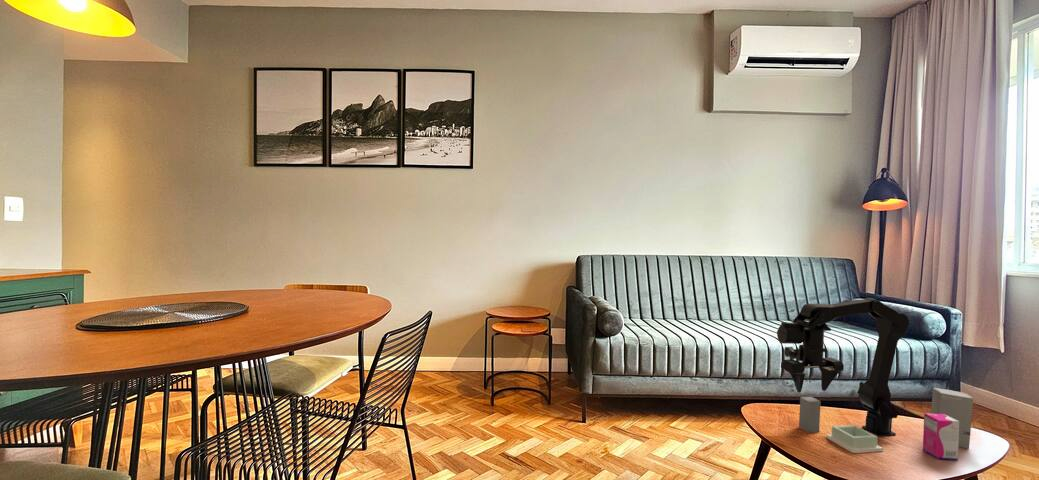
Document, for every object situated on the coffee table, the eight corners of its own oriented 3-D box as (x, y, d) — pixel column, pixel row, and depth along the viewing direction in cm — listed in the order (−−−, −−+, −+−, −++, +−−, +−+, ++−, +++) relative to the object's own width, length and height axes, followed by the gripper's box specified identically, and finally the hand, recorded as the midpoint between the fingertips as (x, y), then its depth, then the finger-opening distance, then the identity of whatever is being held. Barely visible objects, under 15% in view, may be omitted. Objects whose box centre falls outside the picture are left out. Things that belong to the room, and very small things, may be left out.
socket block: (854, 436, 151) (854, 423, 151) (882, 451, 141) (883, 438, 141) (826, 437, 149) (826, 425, 149) (853, 453, 140) (853, 439, 139)
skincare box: (935, 443, 147) (939, 393, 146) (927, 434, 153) (930, 386, 153) (971, 450, 143) (975, 398, 143) (962, 440, 150) (965, 390, 149)
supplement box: (942, 451, 142) (944, 413, 142) (958, 461, 136) (961, 421, 136) (921, 449, 143) (923, 412, 142) (936, 459, 137) (939, 420, 136)
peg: (809, 426, 158) (811, 396, 157) (819, 431, 154) (820, 401, 153) (798, 427, 157) (800, 397, 156) (808, 432, 153) (809, 401, 153)
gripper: (818, 336, 163) (816, 381, 164) (769, 338, 160) (768, 384, 161) (846, 345, 152) (844, 393, 153) (794, 347, 149) (792, 396, 150)
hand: (811, 391), depth 154 cm, fingers open, 9 cm apart
